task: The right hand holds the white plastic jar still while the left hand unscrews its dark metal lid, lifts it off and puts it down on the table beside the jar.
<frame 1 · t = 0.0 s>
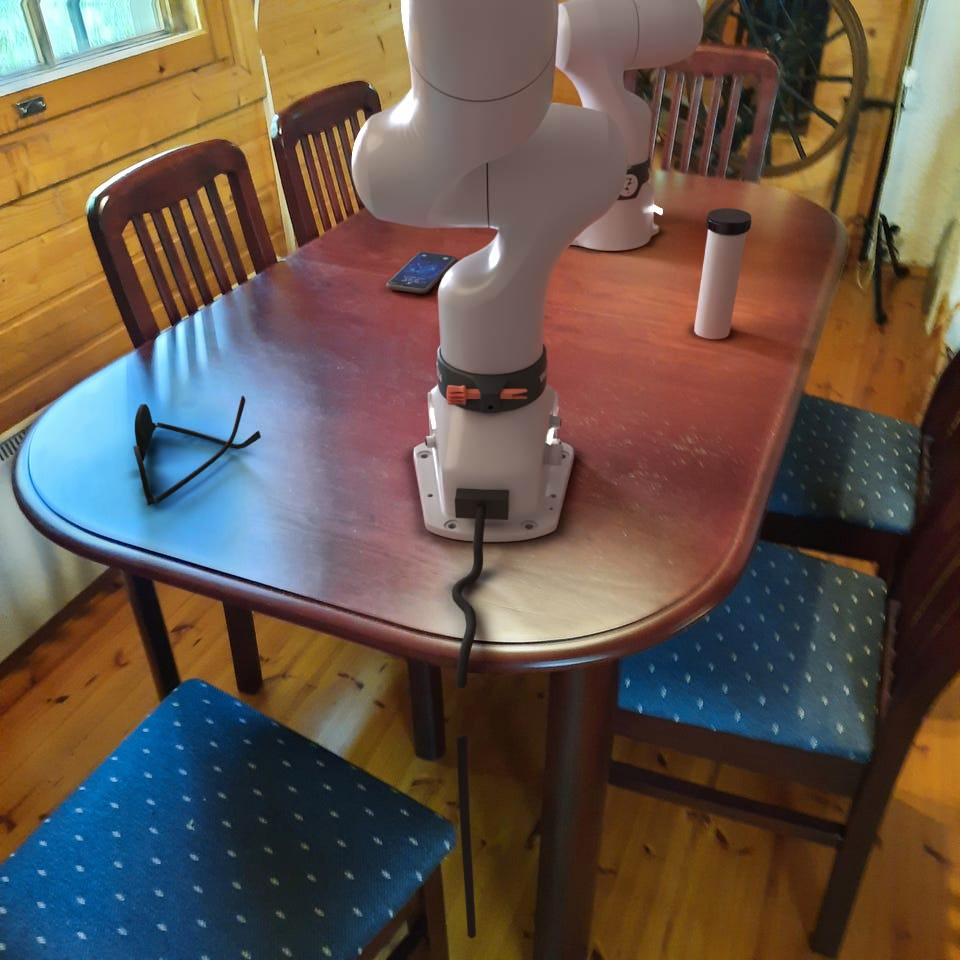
lid: (729, 218, 115), point 17 cm above the table, screwed on, not yet turned
smartphone: (422, 275, 144), on the table
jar: (711, 331, 125), on the table
sunglasses: (202, 458, 102), on the table
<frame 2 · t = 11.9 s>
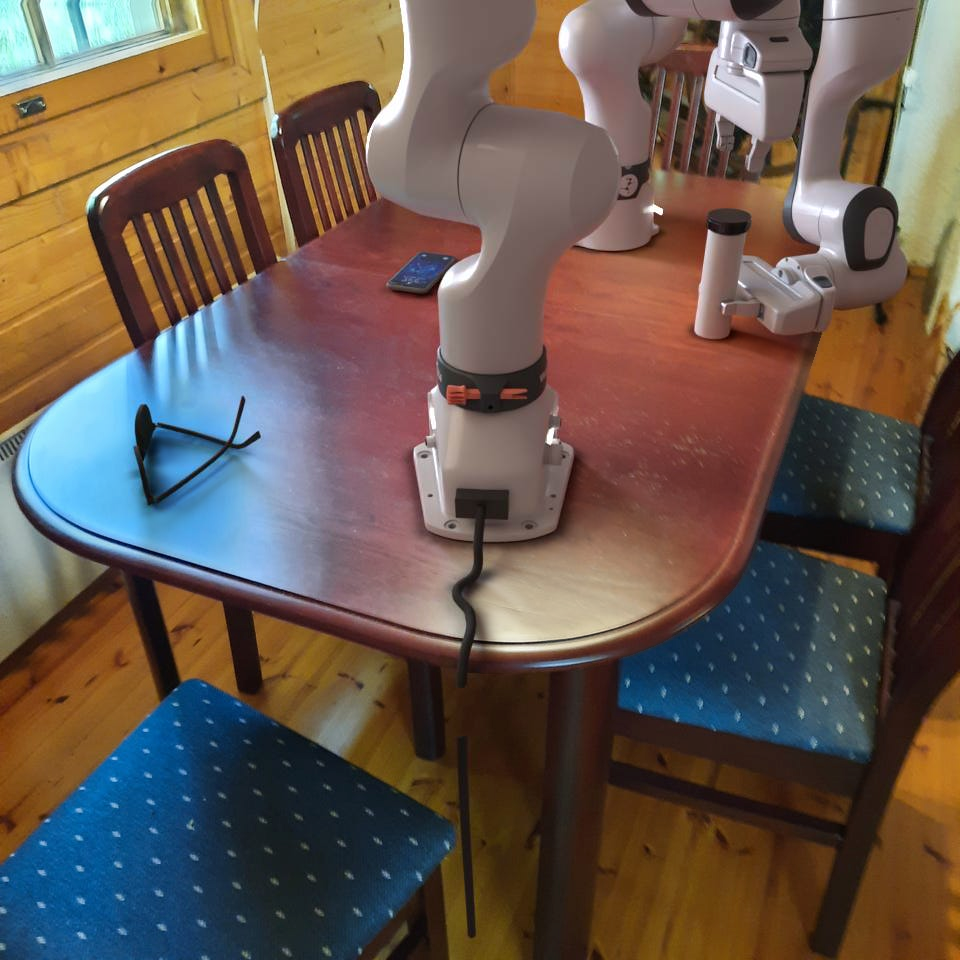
left hand: (738, 160, 111), 24 cm above the table, tool pointing down, fingers open, 8 cm apart
right hand: (711, 299, 122), 5 cm above the table, tool horizontal, fingers closed on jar, 5 cm apart
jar: (711, 331, 125), on the table, touching right hand
everything else where it was.
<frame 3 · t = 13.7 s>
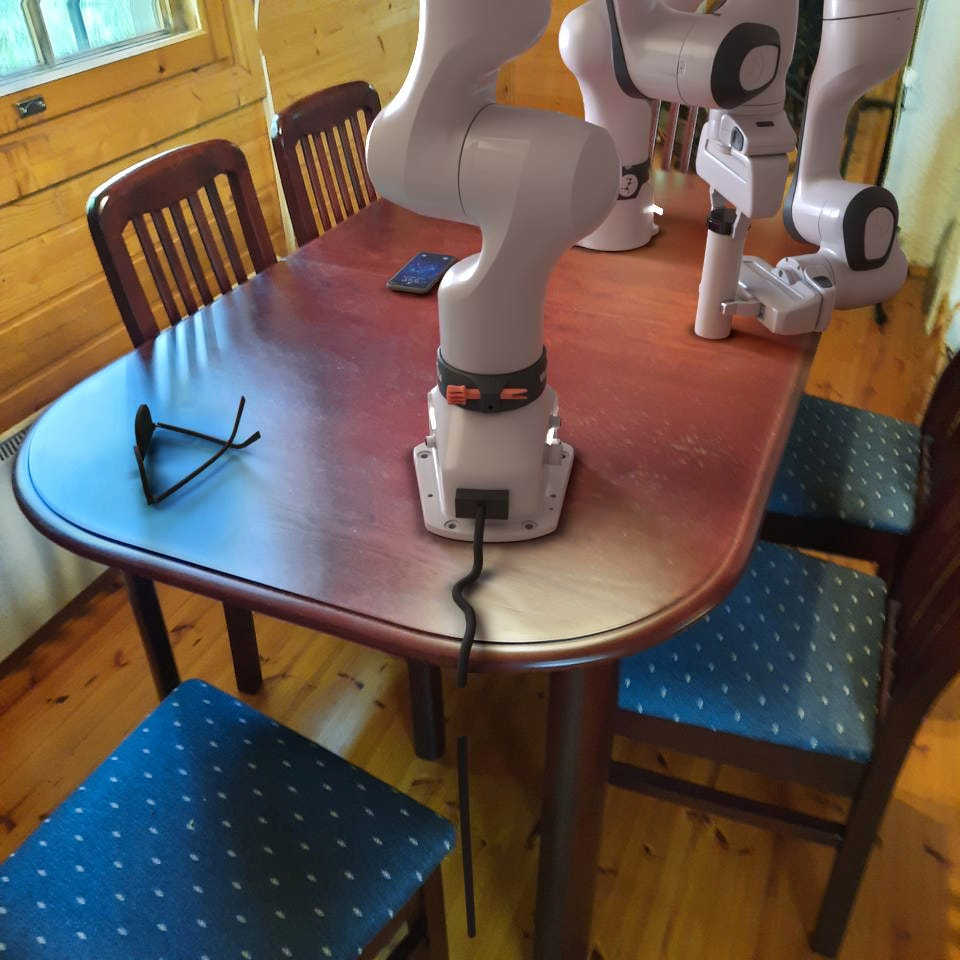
left hand: (727, 229, 116), 15 cm above the table, tool pointing down, fingers closed on lid, 5 cm apart
right hand: (711, 299, 122), 5 cm above the table, tool horizontal, fingers closed on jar, 5 cm apart
lid: (729, 217, 115), point 17 cm above the table, screwed on, not yet turned, touching left hand
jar: (712, 331, 125), on the table, touching right hand
everything else where it was.
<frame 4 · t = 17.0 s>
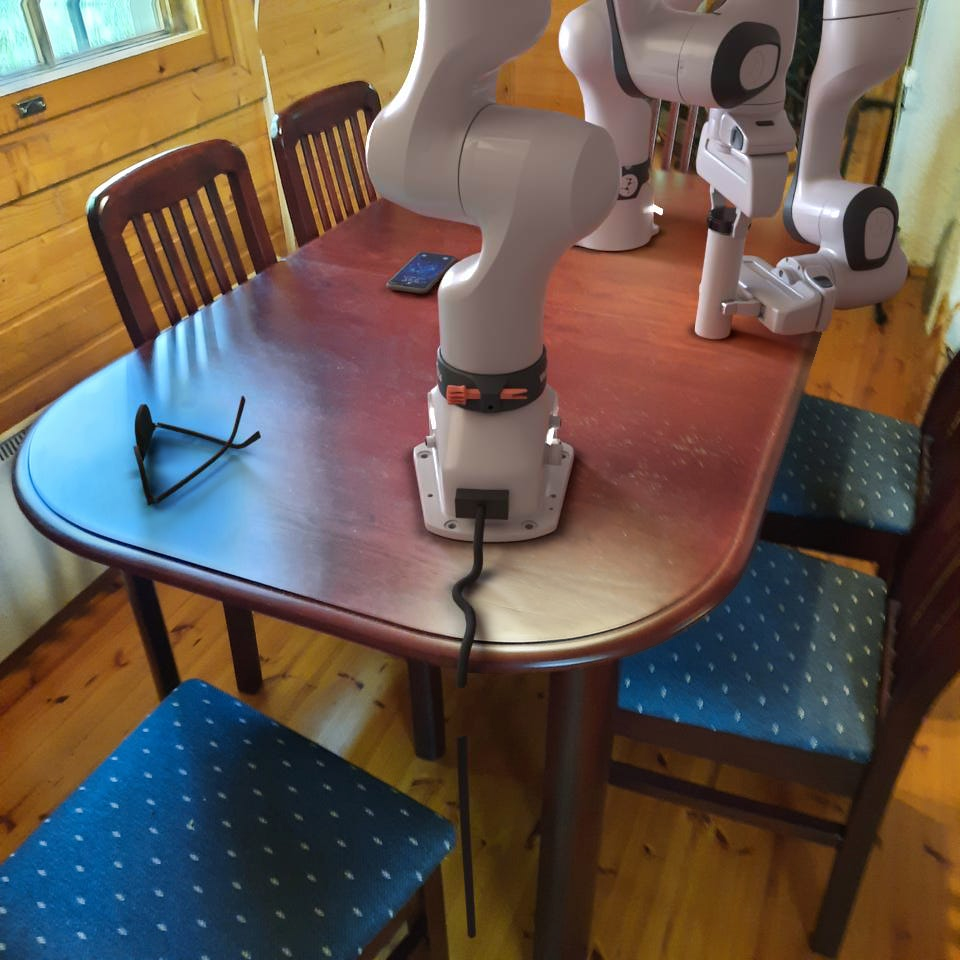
left hand: (727, 228, 116), 15 cm above the table, tool pointing down, fingers closed on lid, 5 cm apart
right hand: (711, 299, 122), 5 cm above the table, tool horizontal, fingers closed on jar, 5 cm apart
lid: (729, 216, 115), point 17 cm above the table, turned 88° so far, risen 0.1 cm, still on its thread, touching left hand
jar: (712, 331, 125), on the table, touching right hand
everything else where it was.
when the left hand's fingers open (2 cm above the table, at t = 35.6 s): lid drops 2 cm, point 1 cm above the table.
when the right hand's fingers open (5 cm above the table, at t = 36.7 s): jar stays where it is, on the table.
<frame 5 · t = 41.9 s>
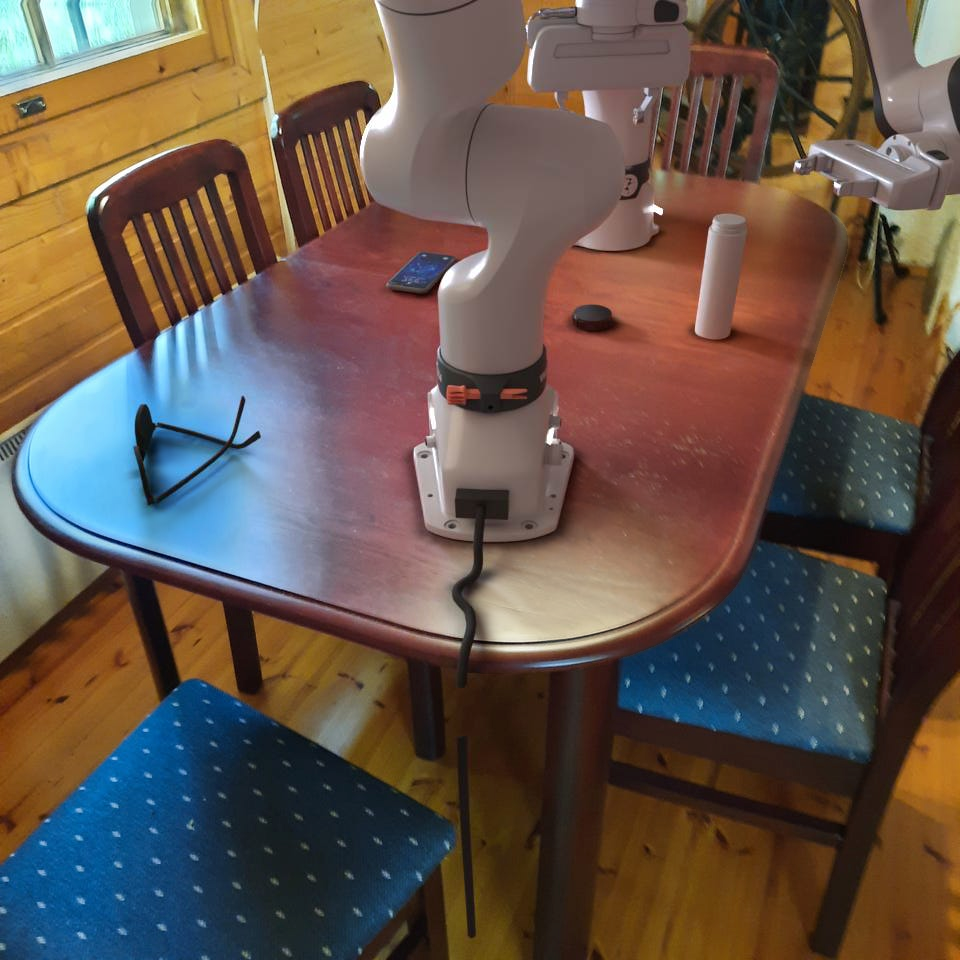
left hand: (604, 125, 111), 28 cm above the table, tool pointing down, fingers open, 8 cm apart
right hand: (816, 178, 115), 21 cm above the table, tool horizontal, fingers open, 8 cm apart
lid: (592, 314, 128), point 1 cm above the table, off its thread
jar: (712, 331, 125), on the table
everything else where it was.
at the end: lid came off its thread; lid point 1.3 cm above the table; the left hand is holding nothing; the right hand is holding nothing; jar tilted 0°; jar moved 0.1 cm from its start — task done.
